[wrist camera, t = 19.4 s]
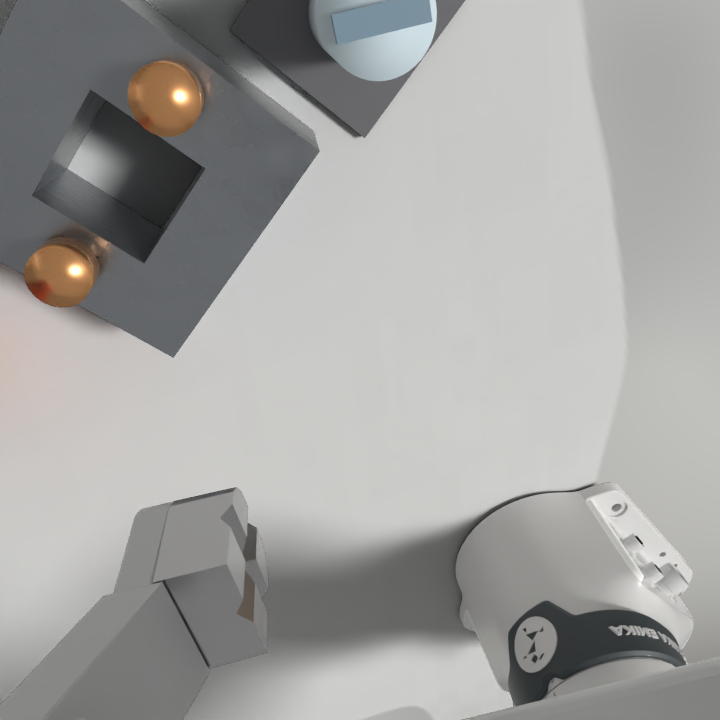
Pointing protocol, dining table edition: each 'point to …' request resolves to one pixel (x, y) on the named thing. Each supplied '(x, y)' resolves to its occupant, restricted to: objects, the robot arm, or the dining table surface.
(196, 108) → the copper dome knob
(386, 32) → the cartridge
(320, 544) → the dining table surface
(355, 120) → the pad
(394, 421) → the dining table surface
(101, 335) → the dining table surface
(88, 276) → the copper knob
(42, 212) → the housing
